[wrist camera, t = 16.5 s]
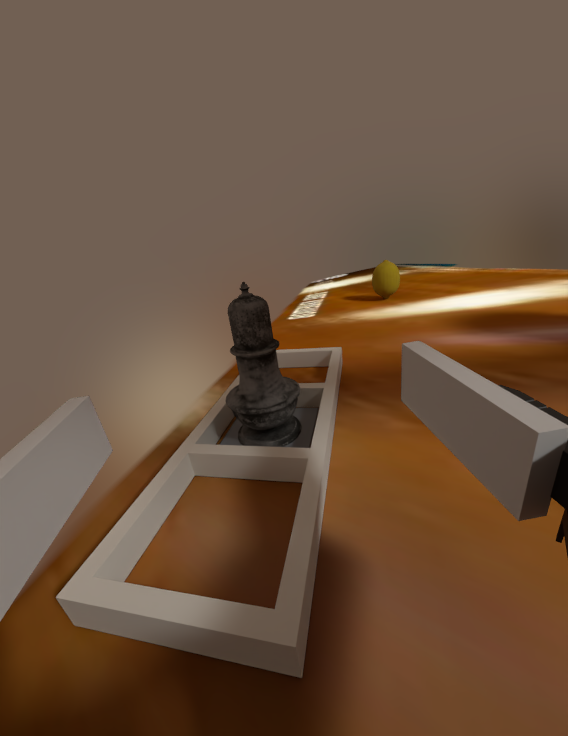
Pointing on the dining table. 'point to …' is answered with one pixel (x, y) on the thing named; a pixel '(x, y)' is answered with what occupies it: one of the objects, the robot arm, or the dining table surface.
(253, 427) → the dark chess piece
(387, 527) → the dining table surface
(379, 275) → the lemon
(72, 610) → the pocket rack
